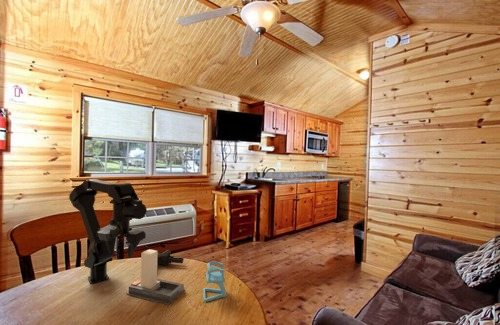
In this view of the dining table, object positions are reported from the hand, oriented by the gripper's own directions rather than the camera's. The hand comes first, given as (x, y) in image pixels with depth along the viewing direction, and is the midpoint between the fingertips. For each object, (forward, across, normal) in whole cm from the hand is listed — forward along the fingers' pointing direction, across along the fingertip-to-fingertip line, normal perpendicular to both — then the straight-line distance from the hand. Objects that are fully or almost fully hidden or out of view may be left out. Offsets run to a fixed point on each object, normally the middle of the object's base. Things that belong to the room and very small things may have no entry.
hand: (120, 255), depth 93 cm
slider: (+12, +12, +2) cm, 17 cm away
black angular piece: (+12, +5, +23) cm, 27 cm away
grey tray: (+12, +16, +2) cm, 20 cm away
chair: (+12, +37, +8) cm, 39 cm away
